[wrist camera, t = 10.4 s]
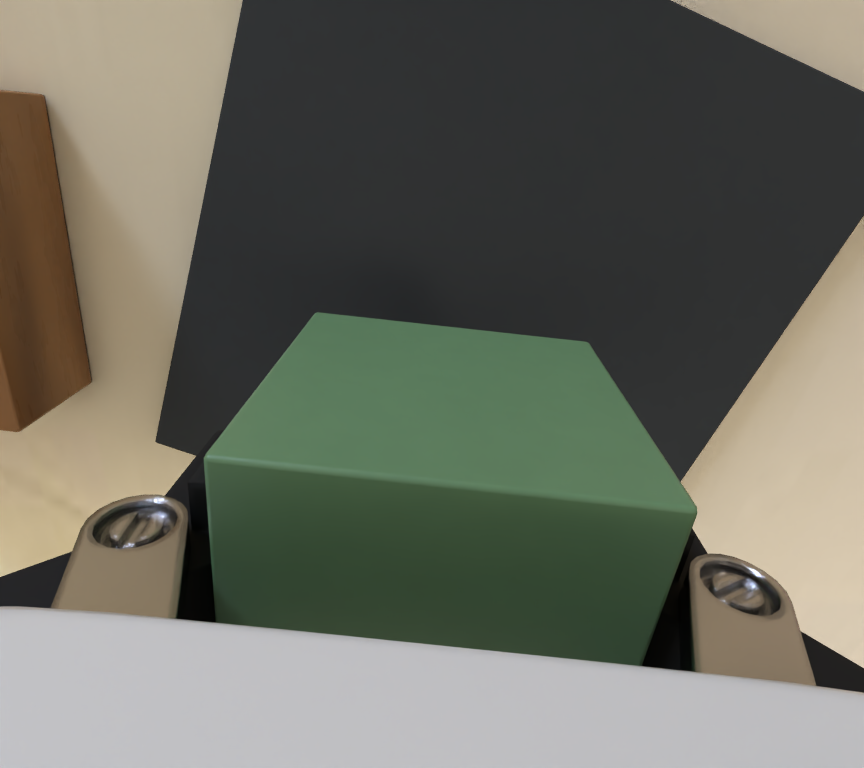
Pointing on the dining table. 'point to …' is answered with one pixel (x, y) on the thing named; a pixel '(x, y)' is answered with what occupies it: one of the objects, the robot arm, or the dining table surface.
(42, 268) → the oak block
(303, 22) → the mat
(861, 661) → the dining table surface
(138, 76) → the dining table surface
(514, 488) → the green block
